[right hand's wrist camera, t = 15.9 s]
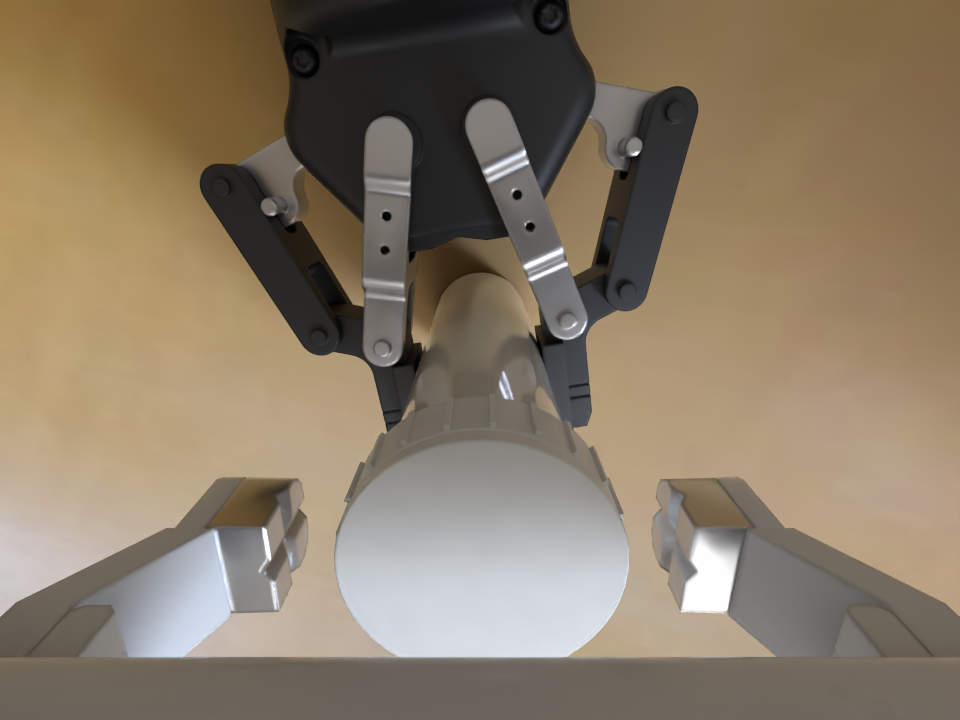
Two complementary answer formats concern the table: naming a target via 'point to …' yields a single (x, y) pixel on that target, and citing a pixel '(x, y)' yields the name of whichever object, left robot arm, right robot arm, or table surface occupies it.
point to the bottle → (481, 348)
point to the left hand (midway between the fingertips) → (494, 441)
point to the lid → (481, 535)
